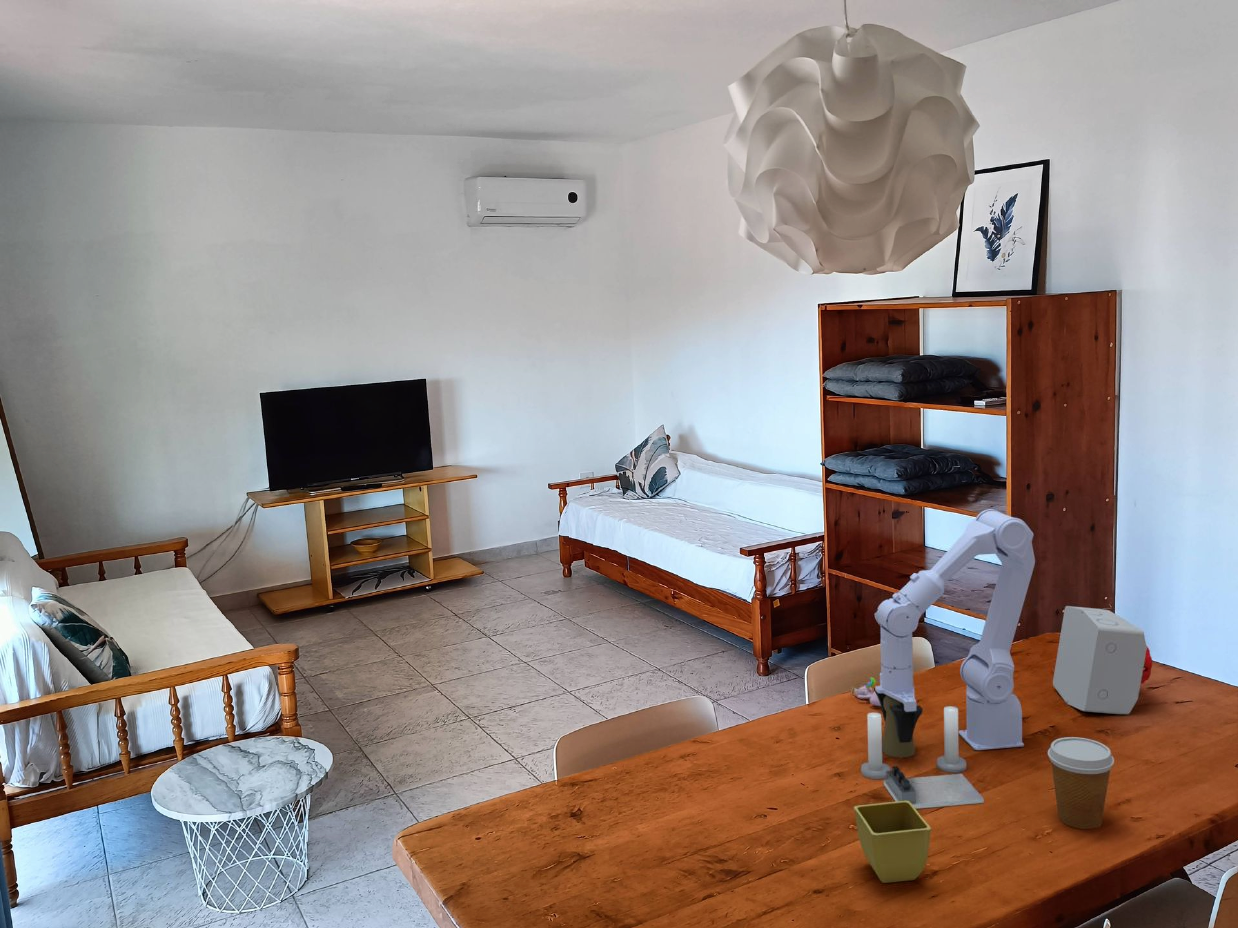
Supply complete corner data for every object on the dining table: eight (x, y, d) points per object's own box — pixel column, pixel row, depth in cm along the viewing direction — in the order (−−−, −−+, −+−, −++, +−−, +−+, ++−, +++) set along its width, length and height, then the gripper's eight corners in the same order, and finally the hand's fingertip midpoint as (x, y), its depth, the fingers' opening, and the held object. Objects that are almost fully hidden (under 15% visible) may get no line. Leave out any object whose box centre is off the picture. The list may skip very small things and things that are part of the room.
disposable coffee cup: (1086, 841, 149) (1087, 767, 148) (1034, 814, 158) (1034, 745, 156) (1126, 823, 154) (1127, 751, 152) (1073, 798, 162) (1074, 730, 160)
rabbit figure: (845, 703, 210) (890, 716, 197) (842, 675, 210) (886, 686, 197) (869, 697, 213) (914, 709, 199) (866, 670, 213) (911, 680, 199)
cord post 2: (959, 759, 178) (958, 702, 177) (970, 771, 174) (970, 713, 172) (932, 761, 178) (932, 704, 177) (943, 773, 173) (942, 715, 172)
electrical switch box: (1157, 724, 193) (1175, 627, 190) (1083, 717, 193) (1099, 620, 190) (1121, 696, 207) (1136, 605, 204) (1051, 689, 207) (1066, 599, 204)
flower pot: (854, 859, 148) (852, 804, 147) (909, 853, 149) (908, 798, 148) (874, 892, 140) (872, 834, 138) (933, 886, 140) (932, 828, 139)
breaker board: (961, 777, 171) (961, 756, 171) (983, 802, 163) (983, 780, 162) (883, 784, 171) (883, 763, 170) (901, 809, 162) (901, 787, 161)
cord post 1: (884, 765, 178) (883, 708, 176) (893, 778, 173) (892, 719, 171) (857, 767, 178) (856, 710, 176) (866, 780, 173) (864, 721, 171)
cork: (911, 743, 186) (910, 688, 184) (918, 757, 180) (917, 701, 179) (879, 743, 187) (878, 689, 185) (884, 757, 181) (883, 701, 179)
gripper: (863, 652, 188) (865, 718, 190) (888, 679, 174) (890, 751, 176) (899, 649, 188) (900, 716, 190) (927, 676, 174) (928, 748, 176)
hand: (898, 732), depth 183 cm, fingers open, 7 cm apart
